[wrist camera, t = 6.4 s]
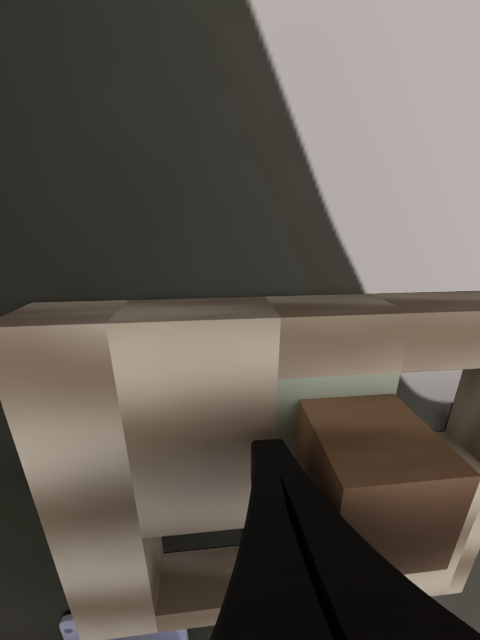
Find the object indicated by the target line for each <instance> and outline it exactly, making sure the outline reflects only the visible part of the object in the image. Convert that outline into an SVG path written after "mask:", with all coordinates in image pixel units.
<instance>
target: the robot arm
mask: <svg viewBox="0 0 480 640" xmlns="http://www.w3.org/2000/svg"><path fill="white" fill-rule="evenodd" d="M59 628H60V630H61V633H62V636H63V638H64V640H80V638H79V635H78V632H77V629H76V626H75V623H74V620H73V617H72V614H68V615H65V616H63V617H62V619H61V621H60V624H59ZM107 640H189V639H188V629H182V630H174V631H167V632H159V633H152V634H144V635H137V636H129V637H122V638H114V639H107ZM210 640H480V633H478V632H477V631H476V630H474V629H473V628H472V627H470V626H469V625H468V624H466V623H465V622H463V621H462V620H461V619H459V618H458V617H457V616H455V615H454V614H453V613H451V612H450V611H448V610H447V609H446V608H444V607H443V606H442V605H440V604H439V603H438V602H436V601H435V600H434V599H433V598H431V597H430V596H429V595H428V594H426V593H425V592H424V591H423V590H422V589H420V588H419V587H418V586H417V585H415V584H414V583H413V582H412V581H410V580H409V579H408V578H407V577H406V576H405V575H404V574H402V573H401V572H400V571H399V570H398V569H397V568H396V567H394V566H393V565H392V564H391V563H390V562H389V561H388V560H386V559H385V558H384V557H383V556H382V555H381V554H380V553H378V552H377V551H376V550H375V549H374V548H373V547H372V546H371V545H370V544H369V543H368V542H367V541H366V540H365V539H364V538H363V537H362V536H361V535H360V534H359V533H358V532H357V531H356V530H355V529H354V528H353V527H352V526H351V525H350V524H349V523H348V522H347V521H346V520H345V519H344V518H343V517H342V516H341V515H340V514H339V512H338V511H337V510H336V509H335V508H334V507H333V506H332V505H331V503H330V502H329V501H328V500H327V499H326V498H325V497H324V495H323V494H322V493H321V492H320V490H319V489H318V488H317V487H316V486H315V484H314V483H313V482H312V480H311V479H310V478H309V477H308V475H307V474H306V473H305V471H304V470H303V469H302V467H301V466H300V465H299V463H298V462H297V460H296V459H295V458H294V456H293V455H292V453H291V452H290V450H289V449H288V447H287V446H286V444H285V443H284V441H283V440H282V439H281V438H280V439H266V440H254V441H253V442H252V443H251V492H250V498H249V504H248V510H247V515H246V520H245V525H244V529H243V534H242V538H241V542H240V546H239V550H238V554H237V557H236V561H235V564H234V568H233V572H232V575H231V578H230V582H229V585H228V588H227V591H226V594H225V597H224V600H223V603H222V606H221V609H220V612H219V615H218V618H217V621H216V624H215V627H214V630H213V633H212V635H211V638H210Z"/></svg>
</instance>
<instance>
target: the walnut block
mask: <svg viewBox="0 0 480 640" xmlns="http://www.w3.org/2000/svg"><path fill="white" fill-rule="evenodd" d="M295 459H296V460H297V462H298V463H299V465H300V466H301V467H302V469H303V470H304V471H305V473H306V474H307V475H308V477H309V478H310V479H311V480H312V482H313V483H314V484H315V486H316V487H317V488H318V489H319V490H320V492H321V493H322V494H323V495H324V497H325V498H326V499H327V500H328V501H329V502H330V503H331V505H332V506H333V507H334V508H335V509H336V510H337V511H338V512H339V514H340V515H341V516H342V517H343V518H344V519H345V520H346V521H347V522H348V523H349V524H350V525H351V526H352V527H353V528H354V529H355V530H356V531H357V532H358V533H359V534H360V535H361V536H362V537H363V538H364V539H365V540H366V541H367V542H368V543H369V544H370V545H371V546H372V547H373V548H374V549H375V550H376V551H377V552H378V553H380V554H381V555H382V556H383V557H384V558H385V559H386V560H388V561H389V562H390V563H391V564H392V565H393V566H394V567H396V568H397V569H398V570H399V571H400V572H401V573H402V574H404V575H406V574H414V573H422V572H430V571H438V570H445V569H448V566H449V563H450V560H451V558H452V555H453V552H454V550H455V547H456V544H457V542H458V539H459V536H460V533H461V531H462V528H463V525H464V523H465V520H466V517H467V515H468V512H469V509H470V506H471V504H472V501H473V498H474V496H475V493H476V490H477V488H478V485H479V482H480V474H479V473H478V472H477V471H476V470H475V469H474V468H473V467H472V466H471V465H470V464H469V463H468V462H466V461H465V460H464V459H463V458H462V457H461V456H460V455H459V454H458V453H457V452H456V451H455V450H454V449H453V448H452V447H450V446H449V445H448V444H447V443H446V442H445V441H444V440H443V439H442V438H441V437H440V436H439V435H438V434H437V433H436V432H435V431H433V430H432V429H431V428H430V427H429V426H428V425H427V424H426V423H425V422H424V421H423V420H422V419H421V418H420V417H419V416H417V415H416V414H415V413H414V412H413V411H412V410H411V409H410V408H409V407H408V406H407V405H406V404H405V403H404V402H403V401H401V400H400V399H399V398H398V397H397V396H396V395H395V394H379V395H363V396H346V397H330V398H314V399H299V410H298V422H297V435H296V448H295Z"/></svg>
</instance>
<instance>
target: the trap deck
mask: <svg viewBox="0 0 480 640" xmlns="http://www.w3.org/2000/svg"><path fill="white" fill-rule="evenodd" d="M456 369H457V370H458V369H463V372H462V375H461V379H460V382H459V386H458V389H457V393H456V396H455V399H454V403H453V406H452V409H451V413H450V416H449V419H448V423H447V426H446V430H445V431H443V432H436V433H437V434H438V435H439V436H440V437H441V438H442V439H443V440H444V441H445V442H446V443H447V444H448V445H449V446H450V447H452V448H453V449H454V450H455V451H456V452H457V453H458V454H459V455H460V456H461V457H462V458H463V459H464V460H465V461H466V462H468V463H469V464H470V465H471V466H472V467H473V468H474V469H475V470H476V471H477V472H478V473H479V474H480V291H456V292H418V293H381V294H342V295H304V296H266V297H228V298H191V299H153V300H115V301H77V302H39V303H30V304H28V305H26V306H23V307H21V308H19V309H17V310H15V311H12V312H10V313H8V314H6V315H4V316H2V317H0V400H1V403H2V406H3V409H4V412H5V415H6V418H7V421H8V424H9V427H10V430H11V433H12V436H13V439H14V442H15V445H16V448H17V451H18V454H19V457H20V460H21V464H22V467H23V470H24V473H25V476H26V479H27V482H28V485H29V488H30V491H31V494H32V497H33V500H34V503H35V506H36V509H37V512H38V515H39V518H40V521H41V524H42V527H43V530H44V533H45V536H46V539H47V542H48V545H49V548H50V551H51V554H52V557H53V560H54V563H55V566H56V569H57V572H58V575H59V578H60V581H61V584H62V587H63V590H64V593H65V596H66V599H67V602H68V605H69V608H70V611H71V614H72V617H73V620H74V623H75V626H76V629H77V632H78V635H79V638H80V640H107V639H114V638H122V637H129V636H137V635H144V634H152V633H159V632H167V631H174V630H182V629H189V628H197V627H204V626H212V625H215V624H216V621H217V618H218V615H219V612H220V609H221V606H222V603H223V600H224V597H225V594H226V591H227V588H228V585H229V582H230V578H231V575H232V572H233V568H234V564H235V561H236V557H237V554H238V550H239V546H240V545H239V546H230V547H220V548H211V549H202V550H193V551H183V552H174V553H165V554H164V551H163V544H162V536H172V535H181V534H191V533H201V532H211V531H220V530H230V529H240V528H244V525H245V520H246V515H247V510H248V504H249V498H250V492H251V443H252V442H253V441H254V440H266V439H280V438H281V439H282V440H283V441H284V443H285V444H286V446H287V447H288V449H289V450H290V452H291V453H292V455H293V456H294V458H295V448H296V435H297V422H298V410H299V399H314V398H330V397H346V396H363V395H379V394H395V395H396V391H397V386H398V382H399V377H400V373H403V372H422V371H440V370H456ZM479 549H480V482H479V485H478V488H477V490H476V493H475V496H474V498H473V501H472V504H471V506H470V509H469V512H468V515H467V517H466V520H465V523H464V525H463V528H462V531H461V533H460V536H459V539H458V542H457V544H456V547H455V550H454V552H453V555H452V558H451V560H450V563H449V566H448V569H445V570H438V571H430V572H422V573H414V574H406V575H405V576H406V577H407V578H408V579H409V580H410V581H412V582H413V583H414V584H415V585H417V586H418V587H419V588H420V589H422V590H423V591H424V592H425V593H426V594H428V595H429V596H438V595H445V594H453V593H460V592H462V590H463V587H464V585H465V583H466V580H467V578H468V575H469V573H470V570H471V568H472V566H473V563H474V561H475V558H476V556H477V554H478V551H479Z"/></svg>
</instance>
